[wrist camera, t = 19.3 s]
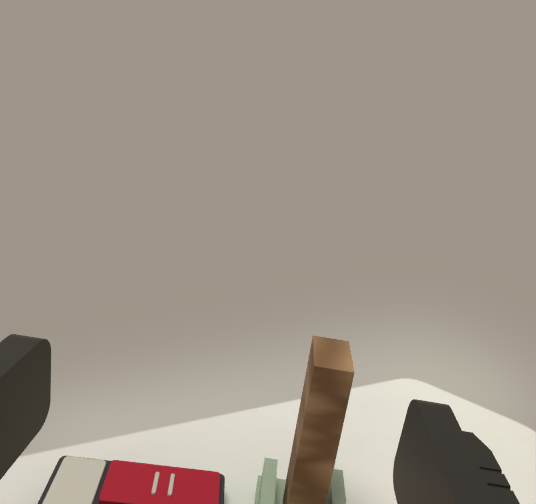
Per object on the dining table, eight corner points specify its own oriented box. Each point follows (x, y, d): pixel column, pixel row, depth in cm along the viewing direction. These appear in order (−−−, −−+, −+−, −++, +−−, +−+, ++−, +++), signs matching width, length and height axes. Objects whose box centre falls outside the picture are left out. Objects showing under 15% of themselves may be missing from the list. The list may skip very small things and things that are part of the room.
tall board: (280, 544, 42) (314, 365, 37) (282, 499, 47) (313, 335, 42) (315, 550, 42) (354, 372, 37) (314, 504, 47) (348, 341, 42)
